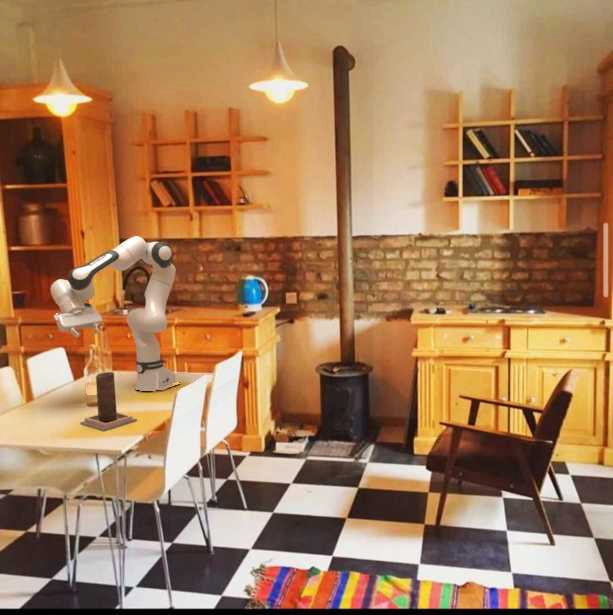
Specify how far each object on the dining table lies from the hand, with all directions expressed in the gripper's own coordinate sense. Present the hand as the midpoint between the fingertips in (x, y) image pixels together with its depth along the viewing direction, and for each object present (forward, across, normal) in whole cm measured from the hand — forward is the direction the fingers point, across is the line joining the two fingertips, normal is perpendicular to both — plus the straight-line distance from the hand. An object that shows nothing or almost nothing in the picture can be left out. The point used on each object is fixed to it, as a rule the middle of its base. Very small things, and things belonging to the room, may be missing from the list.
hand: (87, 334), depth 300 cm
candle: (+40, -9, +6) cm, 41 cm away
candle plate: (+40, -9, +6) cm, 42 cm away
